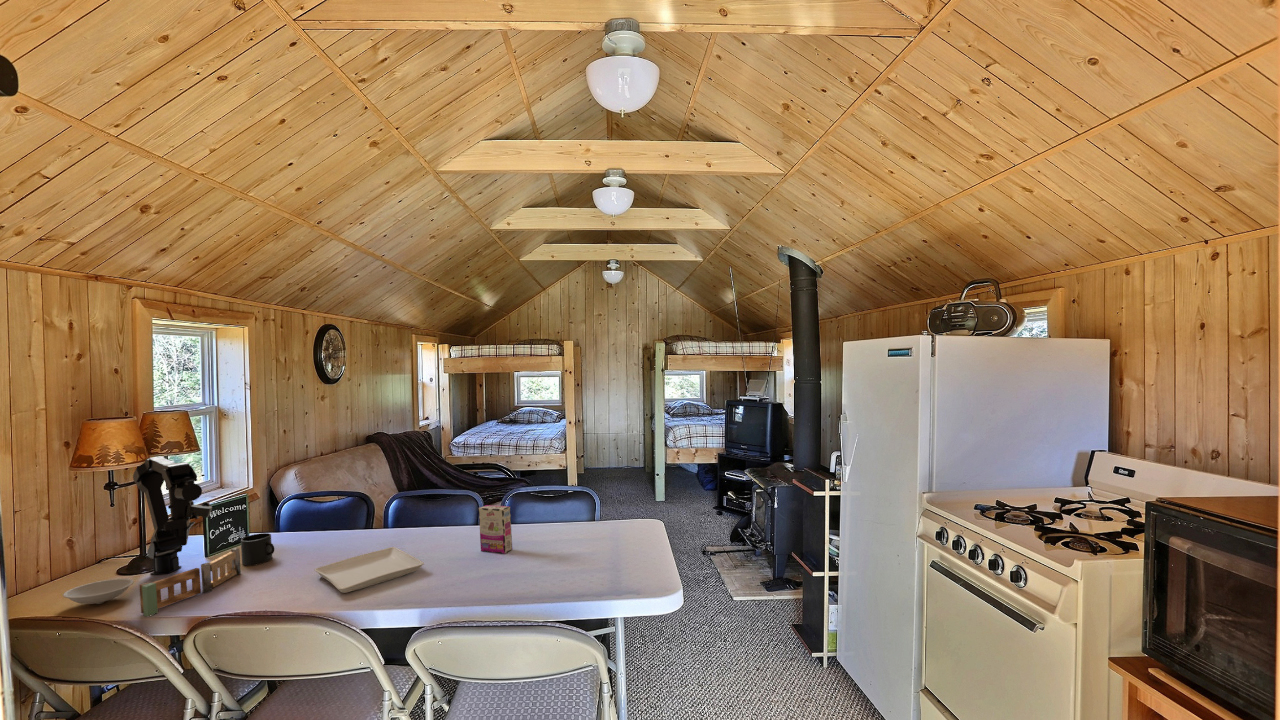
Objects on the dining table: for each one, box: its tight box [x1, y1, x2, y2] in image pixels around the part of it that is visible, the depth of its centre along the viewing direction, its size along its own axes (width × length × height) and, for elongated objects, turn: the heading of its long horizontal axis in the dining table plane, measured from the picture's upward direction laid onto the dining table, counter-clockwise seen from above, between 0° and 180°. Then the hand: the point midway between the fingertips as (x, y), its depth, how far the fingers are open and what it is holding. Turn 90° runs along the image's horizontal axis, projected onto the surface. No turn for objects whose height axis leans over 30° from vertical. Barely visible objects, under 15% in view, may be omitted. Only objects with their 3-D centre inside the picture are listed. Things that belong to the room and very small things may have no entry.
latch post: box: [142, 582, 159, 617], centre depth 173 cm, size 2×2×9 cm
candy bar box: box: [478, 504, 513, 554], centre depth 216 cm, size 11×5×16 cm, turn 68°
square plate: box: [314, 546, 425, 594], centre depth 197 cm, size 27×27×4 cm
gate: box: [138, 567, 202, 614], centre depth 180 cm, size 15×2×8 cm, turn 155°
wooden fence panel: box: [200, 547, 242, 594], centre depth 196 cm, size 2×17×9 cm, turn 1°
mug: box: [240, 532, 275, 566], centre depth 216 cm, size 9×12×9 cm
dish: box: [62, 578, 135, 605], centre depth 183 cm, size 18×14×5 cm
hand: (184, 545), depth 200 cm, fingers closed
